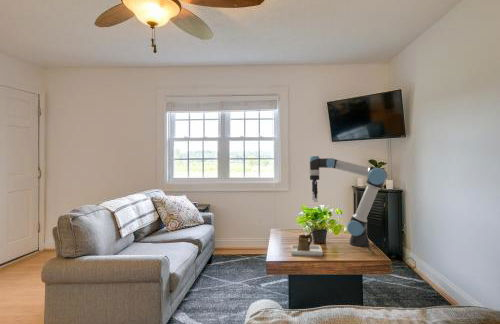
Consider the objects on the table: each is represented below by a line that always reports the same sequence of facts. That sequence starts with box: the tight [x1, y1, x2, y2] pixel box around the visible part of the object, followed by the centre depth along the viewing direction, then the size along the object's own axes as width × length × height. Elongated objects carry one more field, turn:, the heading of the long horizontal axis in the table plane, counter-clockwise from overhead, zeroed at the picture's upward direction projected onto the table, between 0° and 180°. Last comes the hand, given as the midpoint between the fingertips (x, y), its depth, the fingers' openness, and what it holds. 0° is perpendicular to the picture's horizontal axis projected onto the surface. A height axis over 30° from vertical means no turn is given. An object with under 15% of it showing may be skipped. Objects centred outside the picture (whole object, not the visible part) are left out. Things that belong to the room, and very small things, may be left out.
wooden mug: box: [297, 227, 316, 251], centre depth 230 cm, size 9×14×18 cm, turn 74°
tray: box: [290, 244, 324, 257], centre depth 230 cm, size 22×16×3 cm
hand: (314, 200), depth 254 cm, fingers open, 13 cm apart
